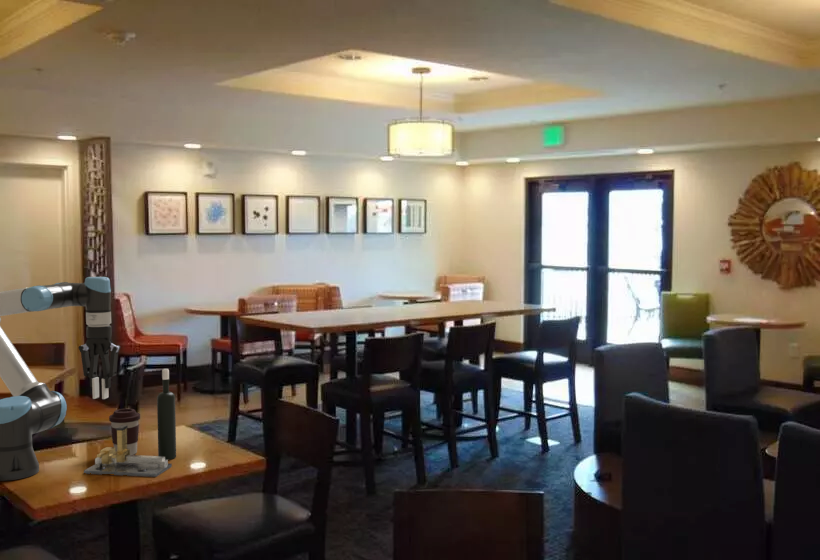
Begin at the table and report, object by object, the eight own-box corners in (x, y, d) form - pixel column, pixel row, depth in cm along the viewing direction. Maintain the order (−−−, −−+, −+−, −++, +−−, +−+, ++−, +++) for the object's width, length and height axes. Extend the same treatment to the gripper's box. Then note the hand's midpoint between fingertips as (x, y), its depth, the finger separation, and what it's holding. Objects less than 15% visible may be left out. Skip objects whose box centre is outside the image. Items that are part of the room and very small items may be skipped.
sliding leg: (109, 468, 252) (108, 430, 251) (121, 461, 260) (120, 425, 259) (118, 468, 252) (117, 431, 251) (130, 461, 259) (129, 425, 258)
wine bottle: (164, 461, 265) (162, 371, 263) (154, 457, 269) (153, 369, 267) (179, 457, 269) (177, 368, 267) (169, 454, 273) (168, 366, 271)
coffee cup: (131, 458, 267) (129, 414, 266) (104, 457, 269) (103, 413, 268) (146, 450, 277) (145, 408, 276) (120, 449, 279) (119, 406, 278)
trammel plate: (83, 473, 251) (83, 454, 251) (102, 463, 262) (101, 445, 262) (156, 477, 248) (155, 458, 247) (171, 466, 259) (171, 448, 258)
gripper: (69, 326, 253) (71, 399, 254) (115, 327, 251) (117, 401, 252) (82, 323, 260) (84, 394, 262) (127, 324, 258) (129, 396, 260)
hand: (100, 397), depth 257 cm, fingers open, 3 cm apart
